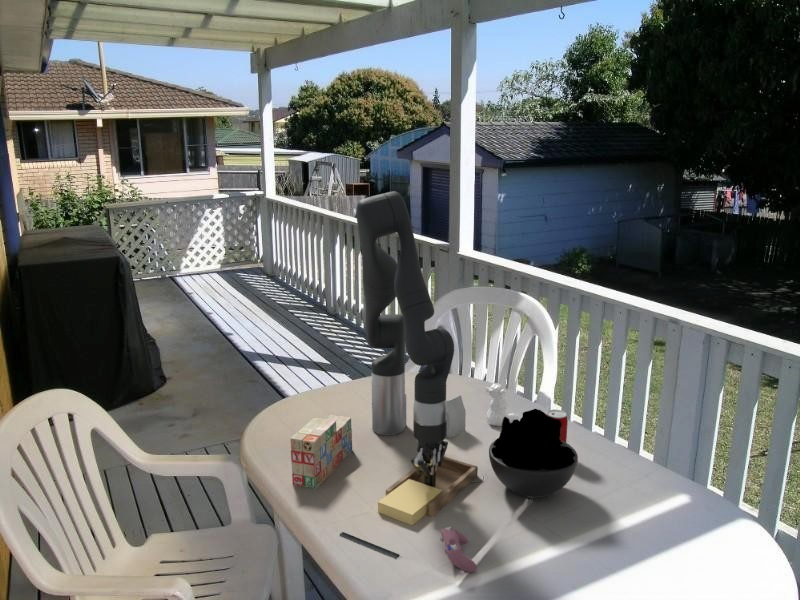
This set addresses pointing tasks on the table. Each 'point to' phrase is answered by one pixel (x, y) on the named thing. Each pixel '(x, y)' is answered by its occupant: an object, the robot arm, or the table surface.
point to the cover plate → (408, 501)
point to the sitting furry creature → (498, 406)
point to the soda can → (562, 418)
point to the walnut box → (443, 481)
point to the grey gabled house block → (455, 416)
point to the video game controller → (457, 549)
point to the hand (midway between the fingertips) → (429, 487)
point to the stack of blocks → (319, 449)
